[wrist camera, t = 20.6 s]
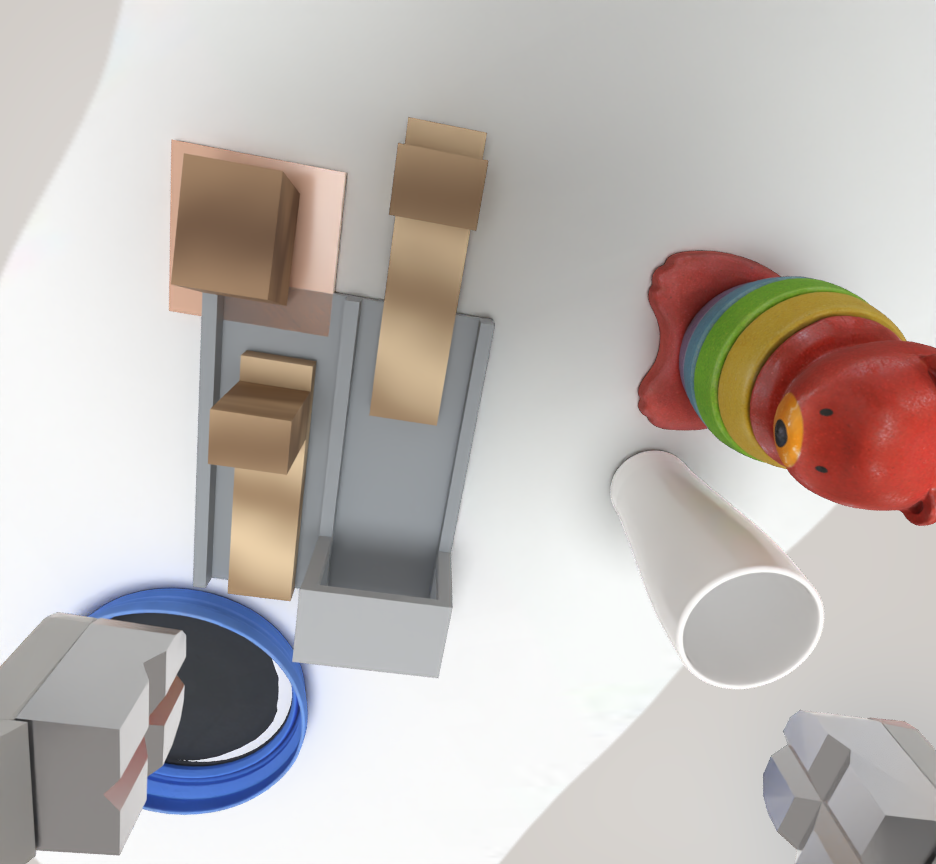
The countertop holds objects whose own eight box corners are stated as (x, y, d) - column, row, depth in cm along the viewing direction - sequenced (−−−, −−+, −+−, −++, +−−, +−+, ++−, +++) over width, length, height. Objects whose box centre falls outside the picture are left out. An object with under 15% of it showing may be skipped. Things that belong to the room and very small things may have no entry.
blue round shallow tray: (65, 762, 49) (38, 803, 46) (55, 561, 43) (23, 593, 39) (302, 785, 51) (293, 826, 47) (326, 596, 45) (317, 628, 41)
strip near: (409, 119, 33) (402, 105, 27) (485, 134, 33) (495, 123, 28) (371, 408, 39) (359, 447, 33) (436, 418, 39) (436, 459, 33)
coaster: (176, 140, 34) (171, 139, 33) (346, 172, 35) (345, 172, 34) (173, 308, 37) (169, 310, 36) (330, 334, 38) (328, 336, 37)
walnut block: (214, 178, 34) (183, 153, 29) (300, 193, 34) (282, 171, 30) (202, 292, 35) (170, 284, 30) (286, 305, 35) (267, 299, 31)
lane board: (213, 271, 36) (158, 292, 29) (492, 319, 38) (504, 349, 31) (202, 571, 43) (155, 646, 36) (438, 600, 45) (438, 678, 38)
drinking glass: (602, 537, 43) (679, 703, 29) (591, 447, 41) (670, 581, 27) (701, 519, 43) (826, 678, 29) (696, 428, 41) (830, 553, 27)
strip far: (246, 350, 37) (211, 380, 31) (316, 361, 37) (293, 392, 32) (233, 582, 42) (200, 645, 37) (294, 590, 43) (271, 653, 37)
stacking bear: (651, 250, 37) (825, 301, 20) (822, 250, 37) (1132, 300, 21) (633, 426, 41) (766, 590, 24) (788, 424, 41) (1025, 585, 24)
